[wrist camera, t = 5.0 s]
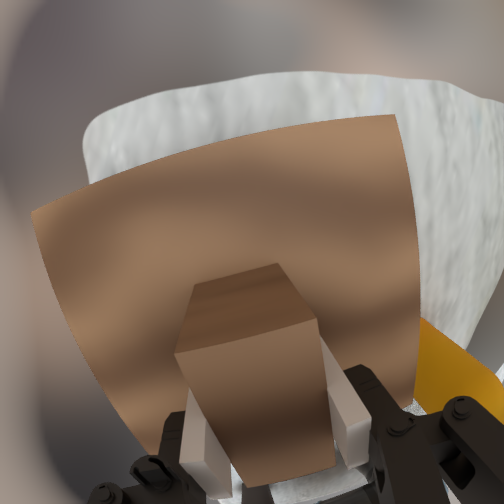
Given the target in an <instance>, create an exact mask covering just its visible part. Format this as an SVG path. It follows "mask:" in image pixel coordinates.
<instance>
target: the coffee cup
mask: <svg viewBox="0 0 504 504" xmlns="http://www.w3.org/2000/svg"><path fill="white" fill-rule="evenodd" d="M241 504H275V503H274V501H273V498H272V495H271V492H270V489H269V486H268V484H267V485H261V486H256V487H250V488H247V487H246V485H245V484H244V483H243V484H242V502H241Z"/></svg>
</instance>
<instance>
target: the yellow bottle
mask: <svg viewBox="0 0 504 504" xmlns="http://www.w3.org/2000/svg"><path fill="white" fill-rule="evenodd" d="M463 395H464V396H470V397H472V398H473V399H475V400H476V401H478V402H479V403H480V404H481V405H482V406H483V407H484V408H485V409H487V410H488V411H489V412H490V413H491V414H492V415H493V416H494V417H496V418H497V419H498V420H499V421H500V422H501V423H502V424H503V425H504V388H503V385H502V383H501V382H500V380H499V379H498V377H497V376H496V375H495V374H494V373H493V372H492V371H491V370H489V369H488V368H487V367H485V366H484V365H483V364H481V363H480V362H479V361H478V360H476V359H475V358H474V357H472V356H471V355H470V354H469V353H468V352H466V351H465V350H464V349H462V348H461V347H460V346H459V345H457V344H456V343H455V342H453V341H452V340H451V339H449V338H448V337H447V336H445V335H444V334H443V333H441V332H440V331H439V330H437V329H436V328H435V327H433V326H432V325H431V324H430V323H429V322H427V321H426V320H425V319H423V318H421V317H420V335H419V350H418V362H417V371H416V380H415V388H414V395H413V398H414V399H415V400H416V401H417V402H418V404H419V405H420V406H421V407H422V408H423V410H424V411H425V412H426V413H427V414H431V413H435V412H439V411H442V410H443V408H444V406H445V404H446V403H447V402H448V401H449V400H450V399H452V398H454V397H456V396H463Z"/></svg>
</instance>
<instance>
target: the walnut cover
mask: <svg viewBox="0 0 504 504" xmlns="http://www.w3.org/2000/svg"><path fill="white" fill-rule="evenodd" d="M31 217H32V221H33V226H34V230H35V233H36V237H37V241H38V244H39V248H40V251H41V254H42V258H43V261H44V264H45V267H46V269H47V273H48V276H49V278H50V281H51V284H52V287H53V289H54V292H55V295H56V297H57V300H58V302H59V304H60V307H61V309H62V312H63V314H64V316H65V319H66V321H67V323H68V325H69V327H70V330H71V332H72V334H73V336H74V338H75V340H76V342H77V344H78V346H79V348H80V350H81V352H82V354H83V356H84V358H85V359H86V361H87V363H88V365H89V367H90V369H91V370H92V372H93V374H94V376H95V377H96V379H97V381H98V383H99V384H100V386H101V387H102V389H103V391H104V392H105V394H106V396H107V397H108V399H109V400H110V402H111V403H112V405H113V406H114V408H115V409H116V411H117V412H118V414H119V415H120V416H121V418H122V420H123V421H124V422H125V424H126V425H127V427H128V428H129V429H130V431H131V432H132V433H133V435H134V436H135V437H136V439H137V440H138V441H139V442H140V444H141V445H142V446H143V447H144V449H145V450H146V451H147V452H148V454H149V455H158V452H159V447H160V442H161V437H162V433H163V427H164V422H165V420H166V419H167V418H168V416H169V415H170V413H171V412H178V411H185V410H186V406H187V399H188V392H189V388H190V390H191V392H192V394H193V396H194V398H195V400H196V402H197V404H198V405H199V407H200V409H201V411H202V413H203V415H204V417H205V418H206V420H207V422H208V423H209V425H210V427H211V429H212V431H213V432H214V434H215V436H216V438H217V439H218V441H219V443H220V444H221V446H222V448H223V449H224V451H225V453H226V454H227V456H228V458H229V459H230V463H232V465H233V467H234V468H235V470H236V471H237V473H238V475H239V476H240V478H241V479H242V481H243V482H244V484H245V485H246V487H247V488H250V487H256V486H261V485H267V484H272V483H276V482H281V481H285V480H290V479H294V478H298V477H301V476H305V475H309V474H312V473H316V472H319V471H322V470H325V469H328V468H331V467H334V466H336V459H335V448H334V438H333V432H332V423H331V415H330V407H329V399H328V392H327V380H326V373H325V366H324V359H323V353H322V346H321V340H320V336H321V337H322V339H323V341H324V342H325V344H326V345H327V347H328V348H329V350H330V352H331V353H332V355H333V356H334V358H335V360H336V361H337V363H338V364H339V366H340V367H341V369H342V371H343V370H345V369H348V368H351V367H354V366H356V365H359V364H362V365H364V366H366V367H368V368H370V369H371V370H372V371H373V373H374V374H375V375H376V377H377V379H379V380H380V382H381V383H382V385H383V386H384V387H385V388H386V390H387V391H388V392H389V394H390V395H391V396H392V397H393V399H394V400H395V401H396V403H397V404H398V405H399V407H400V408H401V409H403V408H405V407H407V406H409V405H410V404H412V401H413V395H414V388H415V380H416V371H417V362H418V350H419V335H420V264H419V249H418V237H417V227H416V218H415V210H414V203H413V196H412V190H411V184H410V178H409V173H408V167H407V163H406V158H405V153H404V149H403V144H402V140H401V136H400V132H399V128H398V124H397V121H396V117H395V114H393V115H377V116H365V117H354V118H345V119H337V120H329V121H321V122H314V123H308V124H301V125H295V126H290V127H284V128H279V129H273V130H268V131H263V132H259V133H254V134H249V135H245V136H240V137H236V138H232V139H228V140H224V141H220V142H216V143H212V144H208V145H205V146H201V147H197V148H194V149H190V150H187V151H183V152H180V153H177V154H173V155H170V156H167V157H164V158H161V159H158V160H155V161H152V162H149V163H146V164H143V165H140V166H137V167H134V168H132V169H129V170H126V171H123V172H121V173H118V174H115V175H113V176H110V177H108V178H105V179H103V180H100V181H98V182H95V183H93V184H90V185H88V186H86V187H83V188H81V189H79V190H77V191H75V192H72V193H70V194H68V195H65V196H63V197H61V198H59V199H57V200H55V201H53V202H51V203H48V204H46V205H44V206H42V207H40V208H38V209H36V210H35V211H33V212H31Z"/></svg>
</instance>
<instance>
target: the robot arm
mask: <svg viewBox="0 0 504 504" xmlns="http://www.w3.org/2000/svg"><path fill="white" fill-rule="evenodd" d="M320 340H321V346H322V353H323V359H324V366H325V373H326V380H327V392H328V399H329V407H330V415H331V423H332V432H333V437H334V439H335V441H336V444H337V446H338V448H339V451H340V453H341V455H342V458H343V460H344V462H345V464H346V467H347V469H348V470H349V469H352V468H354V467H355V468H356V469H357V470H359V471H360V472H361V473H362V474H363V475H364V476H365V477H366V479H367V481H368V484H366V485H364V486H361V487H359V488H357V489H354V490H352V491H349V492H346V493H344V494H342V495H338V496H336V497H333V498H330V499H327V500H324V501H318V502H317V503H315V504H450V501H449V498H448V488H447V486H446V484H447V485H448V487H449V488H450V489H451V490H452V492H453V493H454V495H455V496H456V497H457V499H458V500H459V501H460V503H461V504H504V425H503V424H502V423H501V422H500V421H499V420H498V419H497V418H496V417H494V416H493V415H492V414H491V413H490V412H489V411H488V410H487V409H485V408H484V407H483V406H482V405H481V404H480V403H479V402H478V401H476V400H475V399H473V398H472V397H470V396H464V395H463V396H456V397H454V398H452V399H450V400H449V401H448V402H447V403H446V404H445V406H444V408H443V410H442V411H439V412H435V413H431V414H427V415H421V416H416V415H413V414H412V413H410V412H404V411H403V410H402V409H401V408H400V407H399V405H398V404H397V403H396V401H395V400H394V399H393V397H392V396H391V395H390V394H389V392H388V391H387V390H386V388H385V387H384V386H383V385H382V383H381V382H380V380H379V379H377V377H376V375H375V374H374V373H373V371H372V370H371V369H370V368H368V367H366V366H364V365H362V364H359V365H356V366H354V367H351V368H348V369H345V370H343V371H342V369H341V367H340V366H339V364H338V363H337V361H336V360H335V358H334V356H333V355H332V353H331V352H330V350H329V348H328V347H327V345H326V344H325V342H324V341H323V339H322V337H321V336H320ZM130 474H131V475H132V476H133V477H134V478H135V479H136V480H137V481H138V482H139V483H140V484H139V485H136V486H132V487H127V488H123V489H121V488H120V487H119V486H117V485H116V484H114V483H111V482H110V483H102V484H100V485H98V486H97V487H95V488H94V489H93V491H92V493H91V495H90V497H89V500H88V503H87V504H206V494H207V495H208V496H209V497H210V499H211V500H213V499H214V500H215V499H225V498H233V497H232V481H231V464H230V459H229V458H228V456H227V454H226V453H225V451H224V449H223V448H222V446H221V444H220V443H219V441H218V439H217V438H216V436H215V434H214V432H213V431H212V429H211V427H210V425H209V423H208V422H207V420H206V418H205V417H204V415H203V413H202V411H201V409H200V407H199V405H198V404H197V402H196V400H195V398H194V396H193V394H192V392H191V390H190V388H189V392H188V399H187V406H186V410H185V411H178V412H171V413H170V415H169V416H168V418H167V419H166V420H165V422H164V427H163V433H162V437H161V442H160V447H159V452H158V455H147V456H144V457H141V458H140V459H138V460H137V461H135V462H134V464H133V465H132V466H131V469H130ZM443 480H444V481H443ZM444 482H445V483H446V484H445V483H444Z"/></svg>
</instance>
